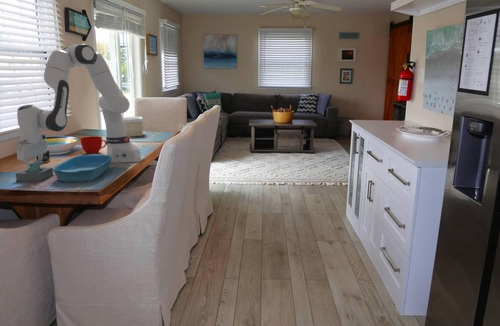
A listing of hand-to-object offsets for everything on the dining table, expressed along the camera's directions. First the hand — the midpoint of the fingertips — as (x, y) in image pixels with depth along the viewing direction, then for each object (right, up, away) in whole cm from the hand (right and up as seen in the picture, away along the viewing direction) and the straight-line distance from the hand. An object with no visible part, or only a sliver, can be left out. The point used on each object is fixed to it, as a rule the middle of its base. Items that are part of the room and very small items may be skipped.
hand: (34, 165), depth 202 cm
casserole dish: (+22, -5, +8) cm, 24 cm away
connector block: (0, -5, +1) cm, 5 cm away
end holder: (0, -6, +1) cm, 7 cm away
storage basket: (+9, +23, +126) cm, 128 cm away
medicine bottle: (-16, +2, +38) cm, 42 cm away
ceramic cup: (+8, +7, +59) cm, 60 cm away
